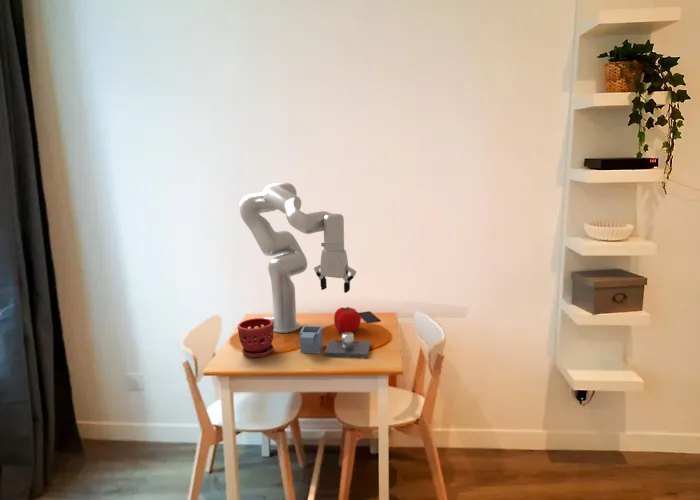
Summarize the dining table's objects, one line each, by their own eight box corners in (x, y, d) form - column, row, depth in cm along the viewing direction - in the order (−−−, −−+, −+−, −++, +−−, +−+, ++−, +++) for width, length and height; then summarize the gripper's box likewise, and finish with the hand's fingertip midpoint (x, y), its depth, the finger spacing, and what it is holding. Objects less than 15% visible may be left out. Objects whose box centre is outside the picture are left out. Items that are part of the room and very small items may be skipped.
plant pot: (279, 346, 198) (278, 317, 196) (267, 361, 186) (265, 330, 183) (248, 344, 201) (246, 315, 198) (234, 358, 189) (231, 328, 186)
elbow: (297, 357, 188) (296, 337, 187) (304, 345, 199) (303, 325, 198) (316, 358, 187) (316, 337, 186) (322, 345, 198) (322, 326, 197)
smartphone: (370, 311, 236) (381, 320, 223) (370, 312, 236) (381, 322, 223) (355, 313, 234) (366, 323, 221) (355, 314, 234) (366, 324, 221)
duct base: (324, 356, 189) (323, 339, 187) (330, 343, 200) (329, 327, 199) (367, 358, 187) (367, 341, 185) (370, 345, 198) (370, 329, 197)
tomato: (329, 335, 209) (328, 311, 207) (340, 324, 221) (339, 301, 219) (355, 337, 206) (355, 313, 203) (365, 326, 217) (364, 303, 215)
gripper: (309, 247, 192) (310, 290, 196) (351, 250, 185) (351, 295, 189) (318, 243, 199) (319, 285, 202) (359, 246, 192) (359, 290, 195)
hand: (335, 290), depth 196 cm, fingers open, 9 cm apart
